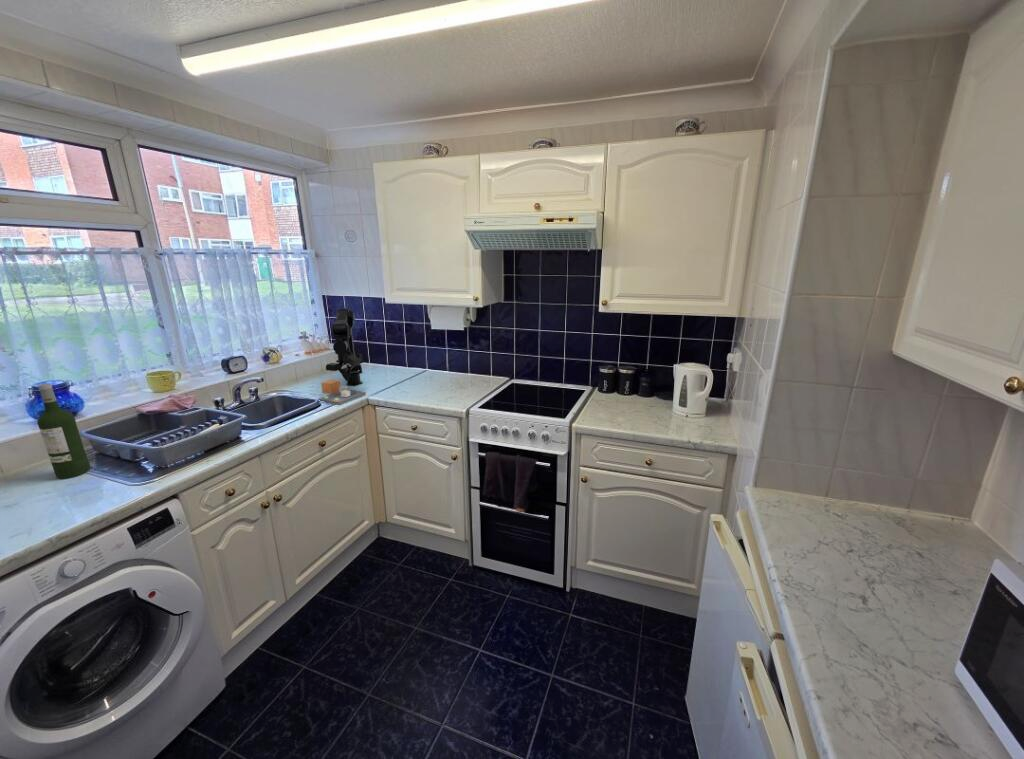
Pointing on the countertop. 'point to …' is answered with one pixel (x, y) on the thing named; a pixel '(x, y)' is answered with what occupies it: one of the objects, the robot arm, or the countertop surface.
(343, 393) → the breaker
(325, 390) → the lockout cap
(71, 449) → the wine bottle
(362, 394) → the grey flat panel
